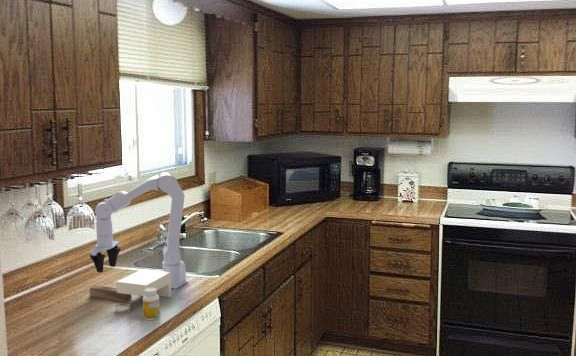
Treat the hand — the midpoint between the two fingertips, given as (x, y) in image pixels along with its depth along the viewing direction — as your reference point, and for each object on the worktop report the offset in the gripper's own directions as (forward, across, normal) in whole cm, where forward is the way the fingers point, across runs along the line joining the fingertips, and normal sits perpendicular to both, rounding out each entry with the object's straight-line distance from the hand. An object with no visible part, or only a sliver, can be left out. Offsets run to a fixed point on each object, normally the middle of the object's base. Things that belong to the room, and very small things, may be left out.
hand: (106, 269), depth 219 cm
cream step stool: (+8, +5, +20) cm, 22 cm away
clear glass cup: (+9, +16, +18) cm, 26 cm away
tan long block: (+9, +6, +6) cm, 12 cm away
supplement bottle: (+9, +18, +31) cm, 37 cm away
